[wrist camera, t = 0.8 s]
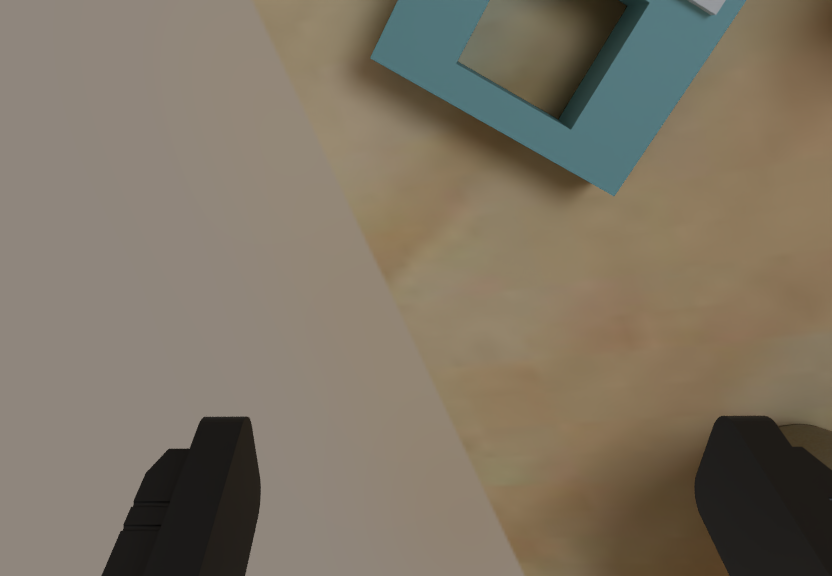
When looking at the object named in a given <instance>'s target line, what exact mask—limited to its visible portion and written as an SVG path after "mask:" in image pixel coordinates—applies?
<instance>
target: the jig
mask: <svg viewBox="0 0 832 576" xmlns="http://www.w3.org/2000/svg"><path fill="white" fill-rule="evenodd" d="M619 1H620V2H622V3H623V4H625V5H627V8H626V9H625V11H624V13H623V14H622V16H621V18H620V19H619V21H618V23H617V24H616V26H615V27H614V29H613V31H612V32H611V34H610V36H609V37H608V39H607V41H606V42H605V44H604V46H603V47H602V49H601V50H600V52H599V54H598V55H597V57H596V59H595V60H594V62H593V64H592V65H591V67H590V69H589V70H588V72H587V73H586V75H585V77H584V78H583V80H582V82H581V83H580V85H579V87H578V88H577V90H576V92H575V93H574V95H573V96H572V98H571V100H570V101H569V103H568V105H567V106H566V108H565V110H564V111H563V113H562V114H561V116H560V118H559V119H556V118H555V117H553V116H551V115H550V114H548V113H546V112H544V111H543V110H541V109H539V108H537V107H536V106H534V105H532V104H530V103H529V102H527V101H525V100H524V99H522V98H520V97H518V96H517V95H515V94H513V93H511V92H510V91H508V90H506V89H504V88H503V87H501V86H499V85H498V84H496V83H494V82H492V81H491V80H489V79H487V78H485V77H484V76H482V75H480V74H478V73H477V72H475V71H473V70H472V69H470V68H468V67H466V66H465V65H463V64H461V63H459V62H458V59H459V57H460V55H461V53H462V51H463V49H464V48H465V46H466V44H467V42H468V40H469V38H470V36H471V34H472V33H473V31H474V29H475V27H476V25H477V23H478V21H479V19H480V17H481V16H482V14H483V12H484V10H485V8H486V6H487V4H488V2H489V0H398V1H397V3H396V5H395V7H394V9H393V12H392V14H391V16H390V18H389V20H388V22H387V24H386V26H385V28H384V30H383V32H382V35H381V37H380V39H379V41H378V43H377V45H376V47H375V49H374V51H373V53H372V55H371V57H370V58H371V59H372V60H374V61H376V62H378V63H379V64H381V65H383V66H385V67H387V68H388V69H390V70H392V71H394V72H395V73H397V74H399V75H401V76H402V77H404V78H406V79H408V80H409V81H411V82H413V83H415V84H417V85H418V86H420V87H422V88H424V89H425V90H427V91H429V92H431V93H432V94H434V95H436V96H438V97H440V98H441V99H443V100H445V101H447V102H448V103H450V104H452V105H454V106H455V107H457V108H459V109H461V110H462V111H464V112H466V113H468V114H470V115H471V116H473V117H475V118H477V119H478V120H480V121H482V122H484V123H485V124H487V125H489V126H491V127H493V128H494V129H496V130H498V131H500V132H501V133H503V134H505V135H507V136H508V137H510V138H512V139H514V140H515V141H517V142H519V143H521V144H523V145H524V146H526V147H528V148H530V149H531V150H533V151H535V152H537V153H538V154H540V155H542V156H544V157H546V158H547V159H549V160H551V161H553V162H554V163H556V164H558V165H560V166H561V167H563V168H565V169H567V170H568V171H570V172H572V173H574V174H576V175H577V176H579V177H581V178H583V179H584V180H586V181H588V182H590V183H591V184H593V185H595V186H597V187H599V188H600V189H602V190H604V191H606V192H607V193H609V194H611V195H613V196H615V195H616V193H617V192H618V190H619V189H620V187H621V186H622V184H623V183H624V181H625V180H626V178H627V177H628V175H629V174H630V172H631V171H632V169H633V168H634V166H635V165H636V163H637V162H638V160H639V159H640V157H641V156H642V154H643V153H644V152H645V150H646V149H647V147H648V146H649V144H650V143H651V141H652V140H653V138H654V137H655V135H656V134H657V132H658V131H659V129H660V128H661V126H662V125H663V123H664V122H665V120H666V119H667V117H668V116H669V114H670V113H671V111H672V110H673V108H674V107H675V105H676V104H677V102H678V101H679V100H680V98H681V97H682V95H683V94H684V92H685V91H686V89H687V88H688V86H689V85H690V83H691V82H692V80H693V79H694V77H695V76H696V74H697V73H698V71H699V70H700V68H701V67H702V65H703V64H704V62H705V61H706V59H707V58H708V56H709V55H710V53H711V52H712V51H713V49H714V48H715V46H716V45H717V43H718V42H719V40H720V39H721V37H722V36H723V34H724V33H725V31H726V30H727V28H728V27H729V25H730V24H731V22H732V21H733V19H734V18H735V16H736V15H737V13H738V12H739V10H740V9H741V7H742V6H743V4H744V3H745V1H746V0H619Z"/></svg>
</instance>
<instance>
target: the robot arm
mask: <svg viewBox="0 0 832 576" xmlns="http://www.w3.org/2000/svg"><path fill="white" fill-rule="evenodd" d="M260 489H261V486H260V475H259V468H258V462H257V456H256V450H255V444H254V437H253V431H252V425H251V421H250V419H249V417H203V419H202V420H201V421H200V423H199V425H198V428H197V431H196V433H195V436H194V439H193V441H192V444H191V447H190V449H168V450H167V451H166V452H165V453H164V455H163V456H162V457H161V458H160V459H159V460H158V461H157V462H156V463H155V464H154V465H153V466H152V467H151V468H150V469H149V470H148V471H147V472H146V474H145V477H144V479H143V481H142V483H141V486H140V488H139V490H138V492H137V495H136V497H135V499H134V505H133V507H131V509H130V511H129V513H128V516H127V518H126V520H125V522H124V529H123V531H121V532H120V534H119V536H118V539H117V541H116V543H115V546H114V548H113V550H112V553H111V555H110V557H109V560H108V562H107V565H106V567H105V569H104V571H103V574H102V576H245V573H246V569H247V564H248V560H249V555H250V551H251V546H252V542H253V537H254V533H255V528H256V523H257V519H258V514H259V507H260V494H261V493H260V492H261V490H260ZM695 499H696V504H697V508H698V511H699V513H700V515H701V518H702V520H703V522H704V524H705V526H706V528H707V530H708V532H709V534H710V536H711V538H712V540H713V542H714V544H715V546H716V549H717V551H718V553H719V555H720V557H721V559H722V561H723V563H724V565H725V567H726V569H727V571H728V573H729V575H730V576H832V470H831V469H830V468H828V467H827V466H826V465H825V464H823V463H822V462H821V461H820V460H818V459H817V458H816V457H815V456H813V455H812V454H811V453H809V452H808V451H807V450H806V449H804V448H803V447H792V446H791V444H790V443H789V441H788V440H787V439H786V437H785V436H784V434H783V433H782V432H781V430H780V429H779V427H778V426H777V424H776V423H775V422H774V421H773V420H772V419H771V418H769V417H767V416H721V417H719V418H718V419H717V420H716V421H715V423H714V426H713V429H712V431H711V434H710V437H709V440H708V443H707V446H706V449H705V451H704V454H703V457H702V460H701V463H700V466H699V469H698V471H697V474H696V478H695Z"/></svg>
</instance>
